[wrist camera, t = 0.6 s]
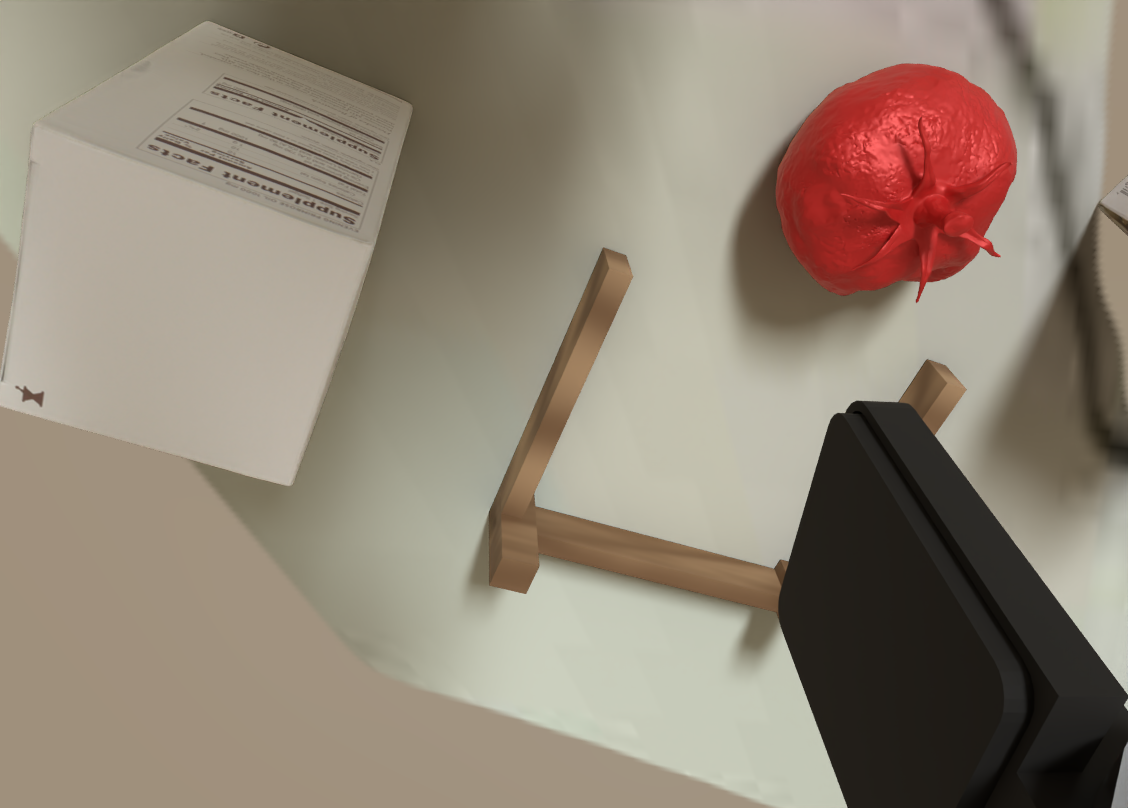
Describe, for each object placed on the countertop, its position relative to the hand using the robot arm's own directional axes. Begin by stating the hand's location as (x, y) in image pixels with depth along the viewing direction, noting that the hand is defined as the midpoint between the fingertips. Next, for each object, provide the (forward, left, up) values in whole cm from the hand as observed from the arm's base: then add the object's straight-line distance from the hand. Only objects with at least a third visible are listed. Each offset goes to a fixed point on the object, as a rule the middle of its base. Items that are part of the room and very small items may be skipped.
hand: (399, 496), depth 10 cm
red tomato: (0, +20, -33) cm, 38 cm away
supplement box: (+9, -5, -33) cm, 35 cm away
